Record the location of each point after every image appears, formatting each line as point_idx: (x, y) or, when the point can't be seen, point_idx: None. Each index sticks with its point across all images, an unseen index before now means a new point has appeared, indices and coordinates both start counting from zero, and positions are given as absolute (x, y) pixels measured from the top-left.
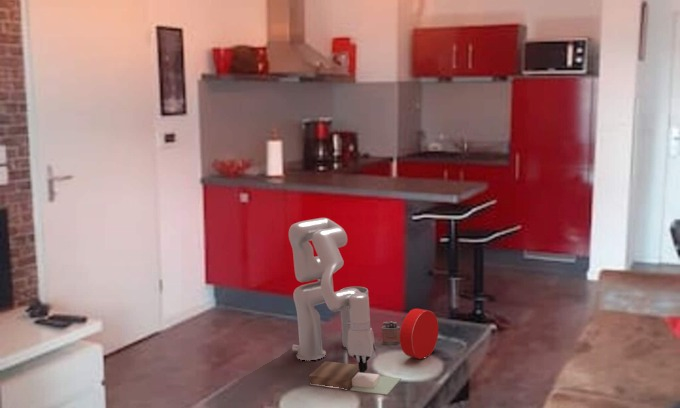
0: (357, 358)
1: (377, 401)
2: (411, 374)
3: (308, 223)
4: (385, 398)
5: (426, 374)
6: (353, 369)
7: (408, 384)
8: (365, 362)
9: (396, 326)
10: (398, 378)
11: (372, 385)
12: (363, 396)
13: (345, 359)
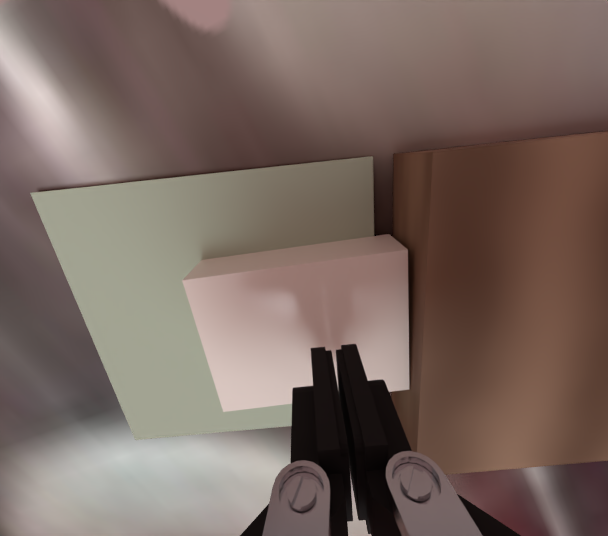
0: (451, 527)
1: (14, 30)
2: (129, 495)
3: None
4: (4, 128)
5: (60, 516)
6: (458, 398)
7: (48, 395)
8: (291, 476)
9: None
10: (146, 434)
11: (208, 265)
12: (199, 86)
13: (561, 522)
